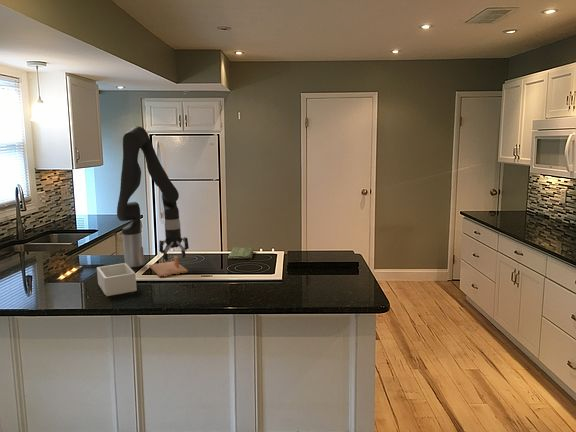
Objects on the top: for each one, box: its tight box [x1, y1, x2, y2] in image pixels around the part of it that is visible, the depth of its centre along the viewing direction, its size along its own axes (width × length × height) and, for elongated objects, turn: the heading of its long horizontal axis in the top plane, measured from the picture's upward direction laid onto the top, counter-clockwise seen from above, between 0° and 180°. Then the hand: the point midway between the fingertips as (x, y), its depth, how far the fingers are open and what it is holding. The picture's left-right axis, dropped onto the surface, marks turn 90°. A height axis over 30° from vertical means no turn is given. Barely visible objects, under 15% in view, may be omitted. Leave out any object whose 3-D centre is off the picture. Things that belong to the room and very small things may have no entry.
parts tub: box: [96, 262, 138, 297], centre depth 221 cm, size 13×20×8 cm, turn 30°
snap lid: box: [148, 255, 188, 277], centre depth 246 cm, size 14×21×7 cm, turn 30°
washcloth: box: [227, 247, 254, 260], centre depth 272 cm, size 13×18×3 cm
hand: (174, 259), depth 247 cm, fingers open, 8 cm apart
